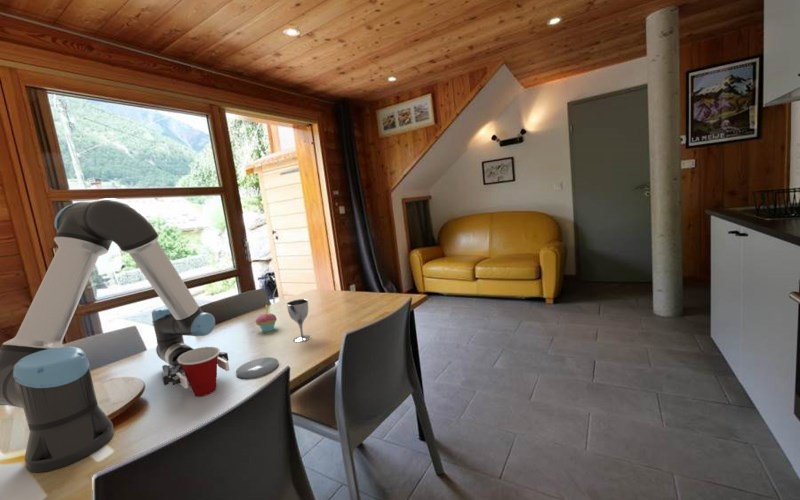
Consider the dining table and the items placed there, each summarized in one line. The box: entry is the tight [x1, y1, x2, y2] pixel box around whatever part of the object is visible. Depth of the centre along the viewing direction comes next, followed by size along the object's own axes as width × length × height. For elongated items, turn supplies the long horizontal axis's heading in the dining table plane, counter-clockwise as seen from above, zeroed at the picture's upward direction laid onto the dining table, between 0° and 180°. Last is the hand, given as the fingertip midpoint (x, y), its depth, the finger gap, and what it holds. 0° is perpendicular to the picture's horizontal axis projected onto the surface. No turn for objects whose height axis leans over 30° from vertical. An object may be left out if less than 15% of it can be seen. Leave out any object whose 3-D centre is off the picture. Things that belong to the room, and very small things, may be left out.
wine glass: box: [286, 298, 311, 343], centre depth 136 cm, size 8×8×15 cm
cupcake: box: [255, 303, 277, 333], centre depth 151 cm, size 9×8×12 cm
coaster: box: [235, 357, 279, 380], centre depth 114 cm, size 13×13×1 cm
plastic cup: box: [177, 346, 221, 398], centre depth 102 cm, size 11×11×12 cm
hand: (207, 374), depth 99 cm, fingers open, 10 cm apart
